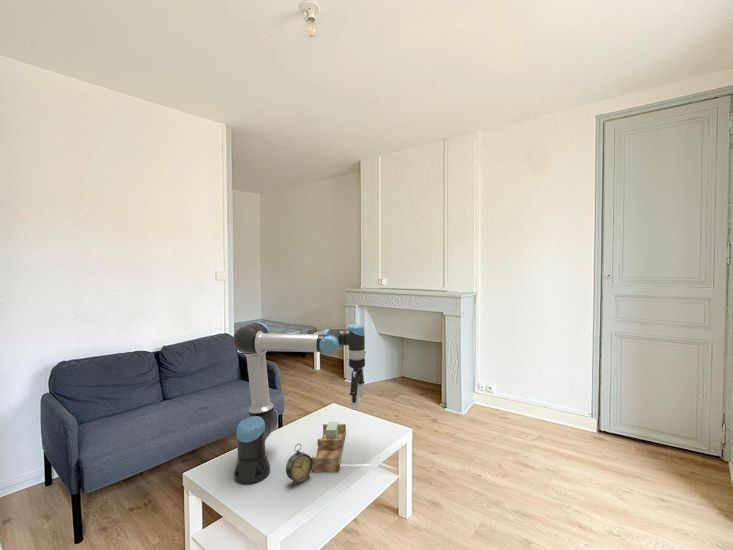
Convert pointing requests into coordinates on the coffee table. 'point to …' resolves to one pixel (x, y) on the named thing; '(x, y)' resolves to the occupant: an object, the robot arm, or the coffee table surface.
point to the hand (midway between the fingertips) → (357, 403)
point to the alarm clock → (299, 466)
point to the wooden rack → (329, 451)
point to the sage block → (332, 430)
